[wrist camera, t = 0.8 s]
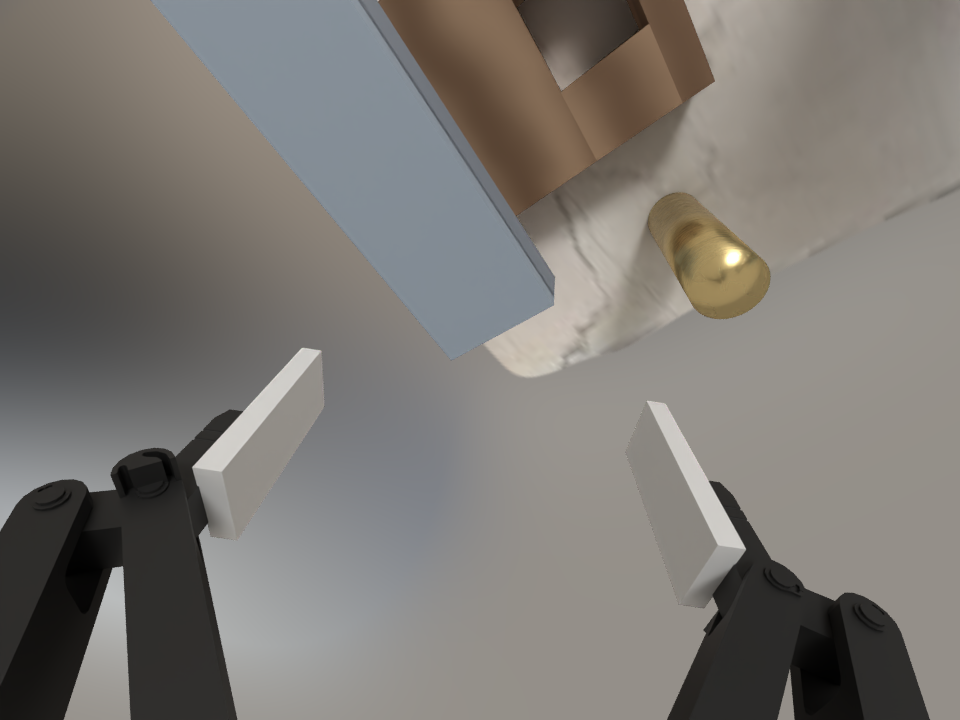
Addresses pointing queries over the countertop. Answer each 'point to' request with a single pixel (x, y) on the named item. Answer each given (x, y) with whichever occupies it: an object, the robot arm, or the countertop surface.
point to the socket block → (547, 86)
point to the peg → (707, 258)
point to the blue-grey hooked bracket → (376, 155)
